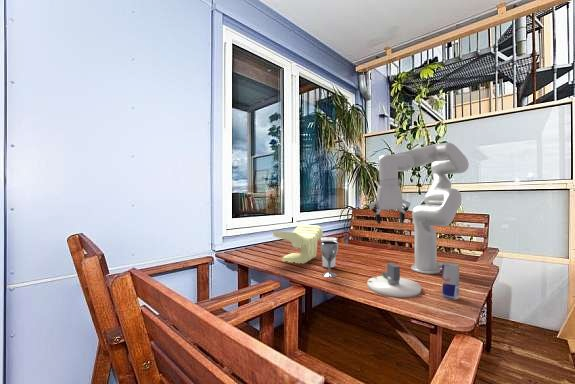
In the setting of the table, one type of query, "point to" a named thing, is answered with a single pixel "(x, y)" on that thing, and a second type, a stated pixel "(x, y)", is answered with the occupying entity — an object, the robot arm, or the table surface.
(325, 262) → the cup
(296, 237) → the slatted curved stool
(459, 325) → the table surface
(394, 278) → the tuning knob
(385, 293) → the tuner dial
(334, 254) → the wine glass
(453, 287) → the energy drink
